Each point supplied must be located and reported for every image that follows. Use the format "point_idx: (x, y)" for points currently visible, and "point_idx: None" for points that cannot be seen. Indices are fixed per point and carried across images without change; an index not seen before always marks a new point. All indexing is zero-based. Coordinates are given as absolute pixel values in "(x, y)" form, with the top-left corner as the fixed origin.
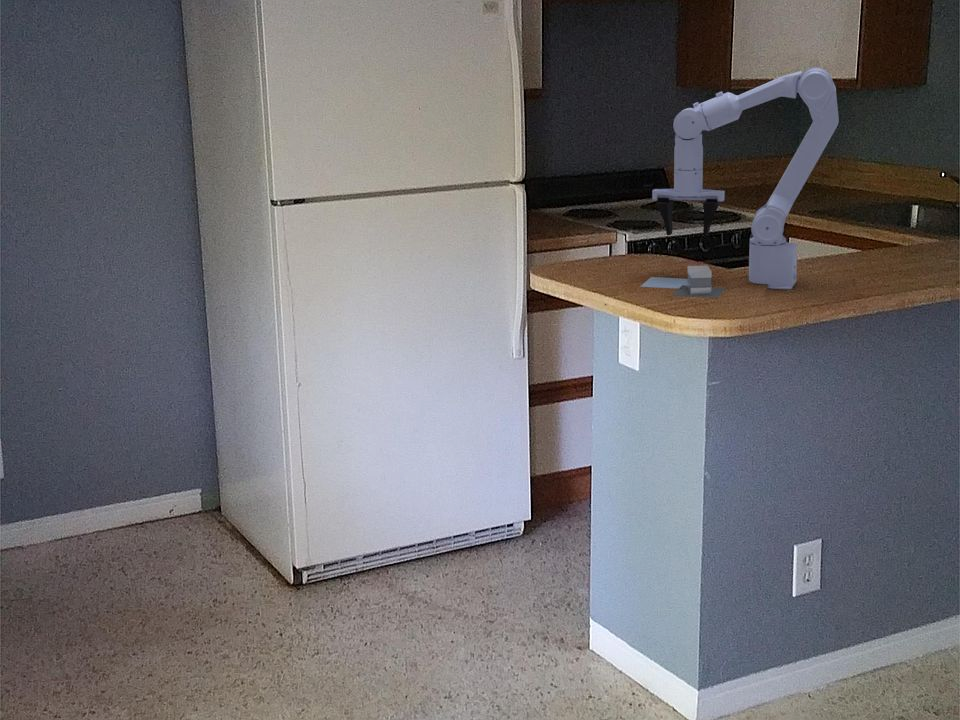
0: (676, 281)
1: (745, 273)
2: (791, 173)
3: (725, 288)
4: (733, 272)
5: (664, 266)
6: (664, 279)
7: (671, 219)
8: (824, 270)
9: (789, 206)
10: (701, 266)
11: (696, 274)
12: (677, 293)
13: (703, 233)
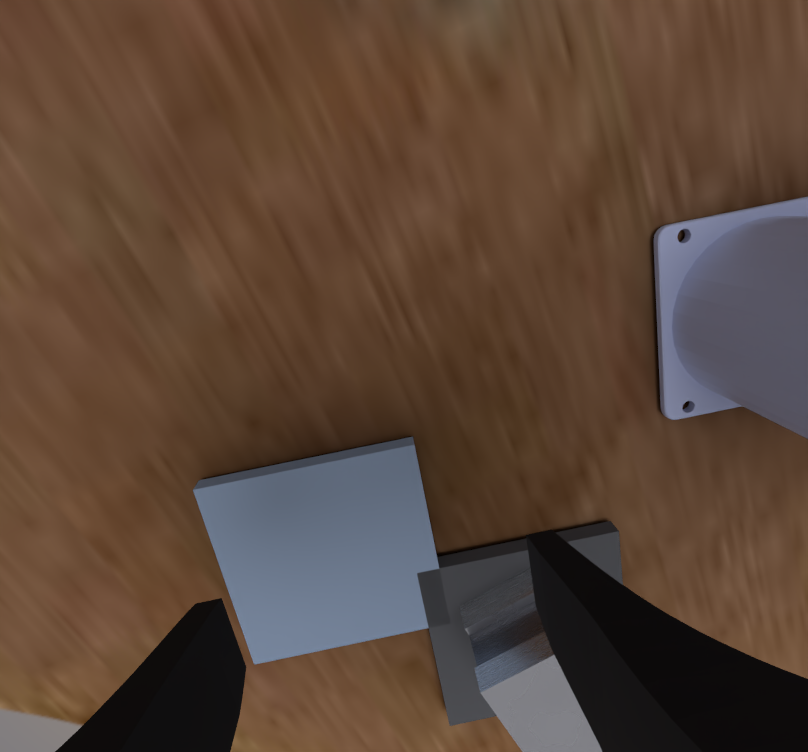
0: (358, 522)
1: (582, 71)
2: None
3: (618, 547)
4: (507, 72)
5: (27, 72)
6: (283, 510)
7: (166, 717)
8: None
9: None
10: (553, 672)
11: None
12: (459, 693)
13: (546, 632)
